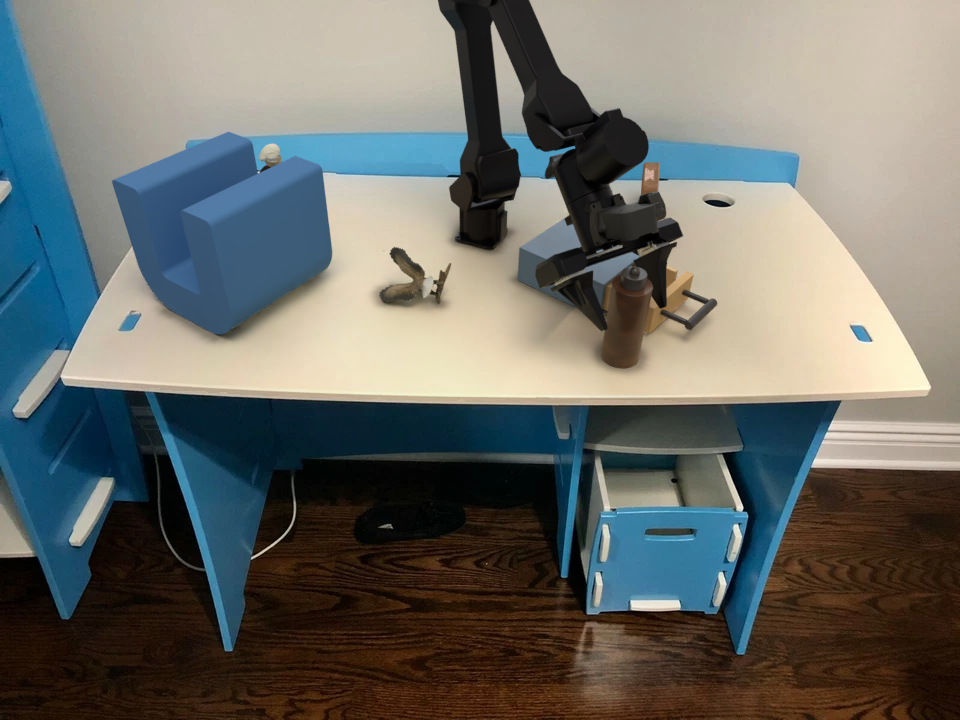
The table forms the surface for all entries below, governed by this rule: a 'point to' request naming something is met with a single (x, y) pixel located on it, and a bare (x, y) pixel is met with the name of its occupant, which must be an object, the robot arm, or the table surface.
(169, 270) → the block
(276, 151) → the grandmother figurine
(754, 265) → the table surface
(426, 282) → the eagle figurine
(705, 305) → the drawer
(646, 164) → the tin
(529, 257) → the cabinet
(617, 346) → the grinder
